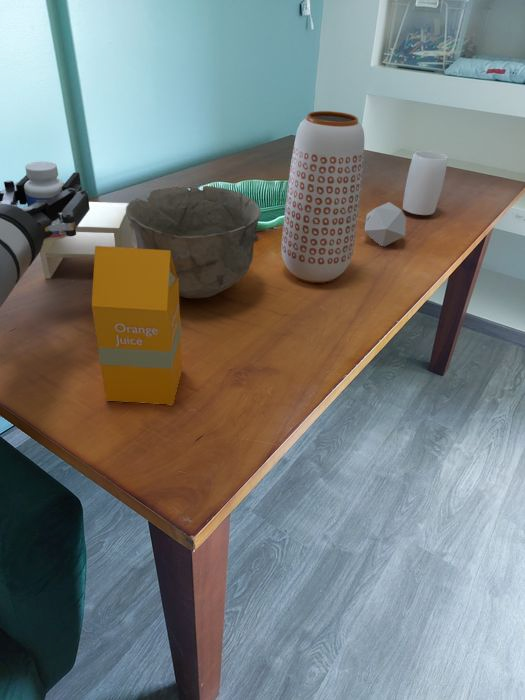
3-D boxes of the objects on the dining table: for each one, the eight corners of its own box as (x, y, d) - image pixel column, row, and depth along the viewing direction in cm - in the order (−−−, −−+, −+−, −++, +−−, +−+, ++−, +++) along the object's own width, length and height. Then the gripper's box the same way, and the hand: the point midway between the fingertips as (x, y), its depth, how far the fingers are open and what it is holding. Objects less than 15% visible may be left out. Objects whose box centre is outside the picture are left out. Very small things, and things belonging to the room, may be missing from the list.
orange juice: (120, 366, 75) (103, 232, 64) (183, 370, 75) (177, 237, 64) (105, 402, 69) (83, 260, 57) (173, 406, 69) (165, 266, 57)
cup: (393, 210, 133) (404, 151, 125) (419, 206, 137) (432, 149, 129) (415, 222, 127) (429, 161, 119) (442, 217, 131) (457, 158, 123)
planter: (297, 294, 95) (313, 127, 79) (268, 262, 105) (278, 108, 89) (361, 284, 100) (390, 124, 83) (328, 254, 110) (348, 106, 93)
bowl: (237, 256, 107) (240, 181, 98) (275, 310, 90) (281, 226, 81) (125, 267, 100) (117, 188, 92) (143, 328, 84) (135, 238, 75)
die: (376, 233, 122) (358, 201, 116) (415, 221, 117) (398, 187, 111) (373, 260, 117) (354, 227, 111) (413, 249, 113) (395, 214, 106)
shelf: (44, 278, 95) (34, 225, 89) (62, 250, 105) (53, 200, 99) (124, 280, 96) (118, 227, 90) (134, 252, 106) (130, 203, 100)
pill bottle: (33, 228, 79) (19, 160, 73) (71, 224, 80) (60, 158, 75) (34, 242, 75) (19, 172, 69) (74, 239, 76) (63, 170, 71)
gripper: (-77, 274, 61) (-2, 203, 80) (87, 279, 62) (122, 208, 81) (-99, 210, 57) (-15, 151, 76) (77, 217, 58) (117, 157, 77)
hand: (56, 180), depth 78 cm, fingers closed on pill bottle, 5 cm apart
